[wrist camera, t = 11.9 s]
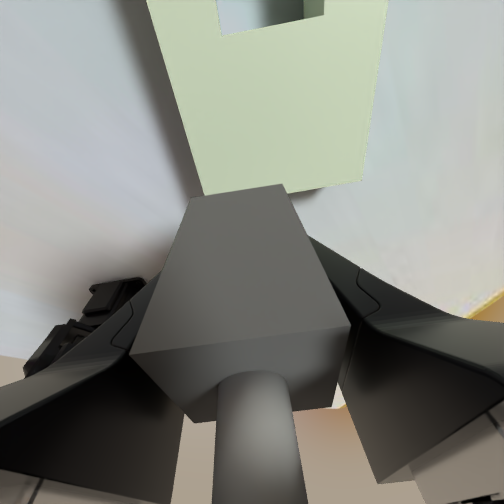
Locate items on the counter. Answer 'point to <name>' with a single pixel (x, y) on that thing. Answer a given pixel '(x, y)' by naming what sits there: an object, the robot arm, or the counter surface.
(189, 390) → the plug
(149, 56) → the counter surface
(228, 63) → the socket
